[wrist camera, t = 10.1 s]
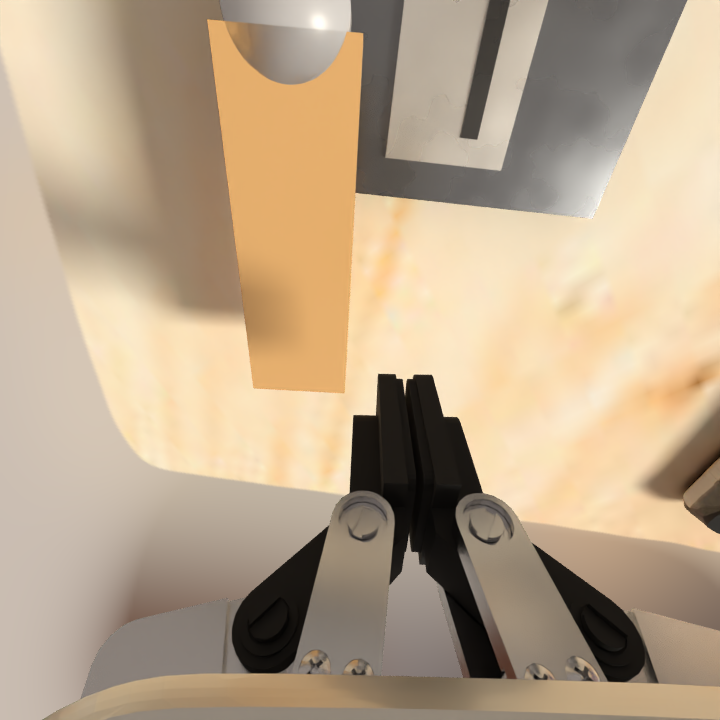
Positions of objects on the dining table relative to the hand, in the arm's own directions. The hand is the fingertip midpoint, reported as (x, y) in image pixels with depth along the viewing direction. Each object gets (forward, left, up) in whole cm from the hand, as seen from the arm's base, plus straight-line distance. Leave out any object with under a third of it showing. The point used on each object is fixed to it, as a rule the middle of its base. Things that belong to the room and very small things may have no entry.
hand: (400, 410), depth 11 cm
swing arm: (-4, -4, -6) cm, 9 cm away
